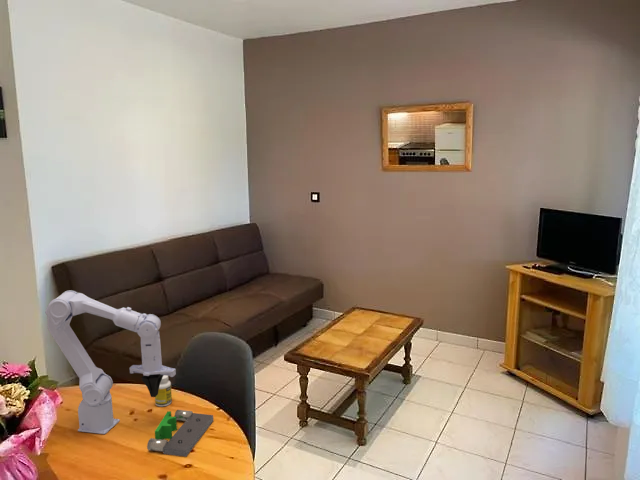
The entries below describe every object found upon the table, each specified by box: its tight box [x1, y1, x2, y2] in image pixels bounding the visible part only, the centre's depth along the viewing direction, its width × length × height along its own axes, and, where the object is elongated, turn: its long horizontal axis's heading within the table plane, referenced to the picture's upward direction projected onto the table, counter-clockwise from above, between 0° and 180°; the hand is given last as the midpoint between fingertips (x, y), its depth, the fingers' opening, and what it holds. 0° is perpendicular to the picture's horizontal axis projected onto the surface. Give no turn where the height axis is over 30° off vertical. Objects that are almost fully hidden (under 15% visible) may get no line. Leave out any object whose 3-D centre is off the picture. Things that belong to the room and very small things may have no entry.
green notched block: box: [154, 410, 178, 440], centre depth 150 cm, size 11×4×5 cm, turn 178°
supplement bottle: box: [154, 375, 173, 407], centre depth 168 cm, size 5×5×10 cm
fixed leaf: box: [146, 409, 214, 458], centre depth 149 cm, size 12×19×3 cm, turn 169°
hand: (154, 395), depth 154 cm, fingers closed
